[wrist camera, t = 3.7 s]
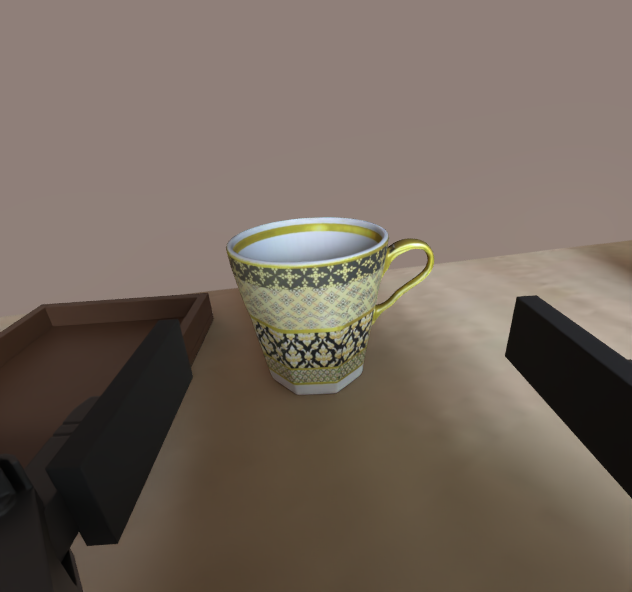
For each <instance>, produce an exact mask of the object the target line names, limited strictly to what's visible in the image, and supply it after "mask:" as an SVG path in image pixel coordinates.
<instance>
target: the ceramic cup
mask: <svg viewBox="0 0 632 592" xmlns="http://www.w3.org/2000/svg"><path fill="white" fill-rule="evenodd" d="M388 239H389V235H388V233H387V231H386V230H385V229H384V228H382V227H380V226H378V225H376V224H374V223H370V222H367V221H362V220H356V219H349V218H334V217H321V218H301V219H292V220H285V221H279V222H274V223H268V224H264V225H261V226H257V227H254V228H251V229H248V230H246V231H243V232H241V233H239V234H237V235H236V236H234V237H233V238H232V239H231V240H230V241H229V242H228V243H227V246H226V250H227V254H228V258H229V261H230V265H231V268H232V271H233V274H234V277H235V279H236V283H237V285H238V288H239V291H240V294H241V296H242V299H243V301H244V304H245V306H246V308H247V310H248V312H249V314H250V317H251V320H252V323H253V326H254V329H255V332H256V335H257V337H258V340H259V343H260V345H261V348H262V351H263V353H264V356H265V359H266V362H267V365H268V367H269V370H270V373H271V375H272V377H273V378H274V379H275V380H276V381H277V382H279V383H280V384H282V385H283V386H285V387H286V388H288V389H289V390H291V391H292V392H294V393H295V394H297V395H307V394H331V393H337V392H339V391H340V390H341V389H343V388H344V387H345V386H347V385H348V384H349V383H351V382H352V381H353V380H355V379H356V378H357V377H359V376H360V375H361V373H362V370H363V364H364V358H365V353H366V348H367V343H368V339H369V335H370V330H371V325H373V324H374V323H375V321H376V319H377V318H378V316H379V315H380V314H381V313H382V312H383V311H384V310H386V309H387V308H389V307H390V306H391V305H393V304H394V302H395V301H396V300H397V299H398V298H399V297H400V296H402V295H403V294H404V293H405V292H407V291H408V290H410V289H411V288H413V287H414V286H416V285H417V284H419V283H420V282H421V281H422V280H424V279H425V278H426V277H427V276H428V274H429V273H430V272H431V270H432V268H433V265H434V255H433V252H432V250H431V248H430V247H429V245H428V244H427V243H425V242H424V241H421V240H418V239H403V240H399V241H397V242H395V243H393V244H392V245H390V246H389V247H387V246H388ZM411 249H422V250H424V251H425V252H426V254H427V257H428V262H427V264H426V267H425V268H424V270H423V271H422V272H421V273H420V274H418V275H417V276H416V277H415V278H413V279H412V280H410V281H409V282H407V283H406V284H405V285H403V286H402V287H400V288H399V289H398V290H397V291H396V292H395V293H394V294H393V295H392V296H391V297H390V298H389V299H388V300H387V301H385V302H384V303H381V304H378V305H376V301H377V295H378V289H379V285H380V282H381V279H382V277H383V275H384V273H385V272H386V271H387V269H388V268H389V266H390V263H391V262H392V261H393V260H394V259H395V258H396V257H397V256H399V255H400V254H402V253H404V252H406V251H408V250H411Z"/></svg>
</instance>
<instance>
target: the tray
mask: <svg viewBox="0 0 632 592" xmlns="http://www.w3.org/2000/svg"><path fill="white" fill-rule="evenodd" d="M171 319H178V320H179V324H180V328H181V332H182V335H183V339H184V343H185V347H186V351H187V355H188V359H189V363H190V367H191V365H192V363H193V361H194V359H195V357H196V355H197V353H198V351H199V348H200V346H201V344H202V342H203V340H204V338H205V336H206V334H207V332H208V330H209V327H210V325H211V323H212V321H213V319H214V318H213V313H212V308H211V303H210V299H209V294H208V293H200V294H187V295H172V296H158V297H144V298H129V299H115V300H101V301H86V302H72V303H59V304H43V305H40V306H39V307H37V308H36V309H35V310H33V311H32V312H30V313H29V314H27V315H26V316H24V317H23V318H21V319H20V320H18V321H17V322H15V323H14V324H12V325H11V326H9V327H8V328H6V329H5V330H3V331H2V332H0V454H5V453H7V454H12V455H15V456H16V458H17V459H18V460H19V462H20V464H21V466H22V467H23V469H25V467H26V466H27V465H28V464H29V463H30V461H31V460H32V459H33V458H34V456H35V455H36V454H37V453H38V452H39V450H40V449H41V448H42V447H43V446H44V444H45V443H46V442H47V441H48V440H49V438H50V437H53V433H54V432H55V431H56V430H57V429H58V427H59V426H60V425H62V424H63V421H64V420H65V419H66V418H67V417H68V415H69V414H70V413H71V412H72V411H73V409H74V408H76V407H77V406H78V405H80V404H81V403H82V402H84V401H85V400H86V399H88V398H89V397H91V396H101V395H102V393H103V392H104V391H105V390H106V388H107V387H108V386H109V384H110V383H111V382H112V380H113V379H114V378H115V377H116V375H117V374H118V373H119V371H120V370H121V369H122V367H123V366H124V365H125V363H126V362H127V361H128V360H129V358H130V357H131V356H132V354H133V353H134V352H135V350H136V349H137V348H138V346H139V345H140V344H141V343H142V341H143V340H144V339H145V337H146V336H147V335H148V333H149V332H150V331H151V330H152V328H153V327H154V326H155V324H156V323H157V322H158V320H171Z"/></svg>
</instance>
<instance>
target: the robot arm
mask: <svg viewBox="0 0 632 592" xmlns="http://www.w3.org/2000/svg"><path fill="white" fill-rule="evenodd" d="M505 357H506V358H507V359H508V360H509V361H510V362H511V363H512V365H513V366H514V367H515V368H516V369H517V370H518V371H519V372H520V373H521V375H522V376H523V377H524V378H525V379H526V380H527V381H528V382H529V384H530V385H531V386H532V387H533V388H534V389H535V390H536V391H537V393H538V394H539V395H540V396H541V397H542V398H543V399H544V400H545V402H546V403H547V404H548V405H549V406H550V407H551V408H552V409H553V411H554V412H555V413H556V414H557V415H558V416H559V417H560V418H561V419H562V421H563V422H564V423H565V424H566V425H567V426H568V427H569V428H570V430H571V431H572V432H573V433H574V434H575V435H576V436H577V437H578V439H579V440H580V441H581V442H582V443H583V444H584V445H585V446H586V448H587V449H588V450H589V451H590V452H591V453H592V454H593V455H594V456H595V458H596V459H597V460H598V461H599V462H600V463H601V464H602V465H603V467H604V468H605V469H606V470H607V471H608V472H609V473H610V474H611V476H612V477H613V478H614V479H615V480H616V481H617V482H618V483H619V485H620V486H621V487H622V488H623V489H624V490H625V491H626V492H627V494H628V495H629V496H630V497H631V498H632V360H627V359H625V358H624V357H623V356H621V355H620V354H618V353H617V352H616V351H614V350H613V349H611V348H610V347H608V346H607V345H606V344H604V343H603V342H601V341H600V340H599V339H597V338H596V337H594V336H593V335H592V334H590V333H589V332H587V331H586V330H585V329H583V328H582V327H580V326H579V325H577V324H576V323H575V322H573V321H572V320H570V319H569V318H568V317H566V316H565V315H563V314H562V313H561V312H559V311H558V310H556V309H555V308H553V307H552V306H551V305H549V304H548V303H546V302H545V301H544V300H542V299H541V298H539V297H538V296H537V295H536V296H521V297H517V298H516V303H515V308H514V313H513V318H512V323H511V328H510V333H509V338H508V343H507V348H506V353H505ZM192 378H193V375H192V371H191V367H190V363H189V359H188V355H187V351H186V347H185V343H184V339H183V335H182V332H181V328H180V324H179V320H178V319H171V320H158V322H157V323H156V324H155V326H154V327H153V328H152V330H151V331H150V332H149V333H148V335H147V336H146V337H145V339H144V340H143V341H142V343H141V344H140V345H139V346H138V348H137V349H136V350H135V352H134V353H133V354H132V356H131V357H130V358H129V360H128V361H127V362H126V363H125V365H124V366H123V367H122V369H121V370H120V371H119V373H118V374H117V375H116V377H115V378H114V379H113V380H112V382H111V383H110V384H109V386H108V387H107V388H106V390H105V391H104V392H103V393H102V395H101V396H91V397H89V398H88V399H86V400H85V401H84V402H82V403H81V404H80V405H78V406H77V407H76V408H74V409H73V411H72V412H71V413H70V414H69V415H68V417H67V418H66V419H65V420H64V421H63V424H62V425H60V426H59V427H58V429H57V430H56V431H55V432H54V433H53V437H50V438H49V440H48V441H47V442H46V443H45V444H44V446H43V447H42V448H41V449H40V450H39V452H38V453H37V454H36V455H35V456H34V458H33V459H32V460H31V461H30V463H29V464H28V465H27V466H26V467H25V469H23V467H22V466H21V464H20V462H19V460H18V459H17V458H16V456H15V455H12V454H7V453H5V454H0V592H83V589H82V585H81V581H80V577H79V573H78V569H77V565H76V561H75V557H74V555H73V553H72V551H71V549H70V547H71V545H72V543H73V541H74V539H75V538H76V536H77V534H78V532H80V534H81V536H82V538H83V540H84V541H85V543H86V545H87V546H93V545H108V544H118V542H119V540H120V537H121V535H122V533H123V531H124V529H125V526H126V524H127V522H128V520H129V518H130V515H131V513H132V511H133V509H134V506H135V504H136V502H137V500H138V498H139V495H140V493H141V491H142V489H143V486H144V484H145V482H146V480H147V478H148V475H149V473H150V471H151V469H152V466H153V464H154V462H155V460H156V458H157V455H158V453H159V451H160V449H161V447H162V444H163V442H164V440H165V438H166V435H167V433H168V431H169V429H170V427H171V424H172V422H173V420H174V418H175V415H176V413H177V411H178V409H179V407H180V404H181V402H182V400H183V398H184V395H185V393H186V391H187V389H188V387H189V384H190V382H191V380H192Z"/></svg>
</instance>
